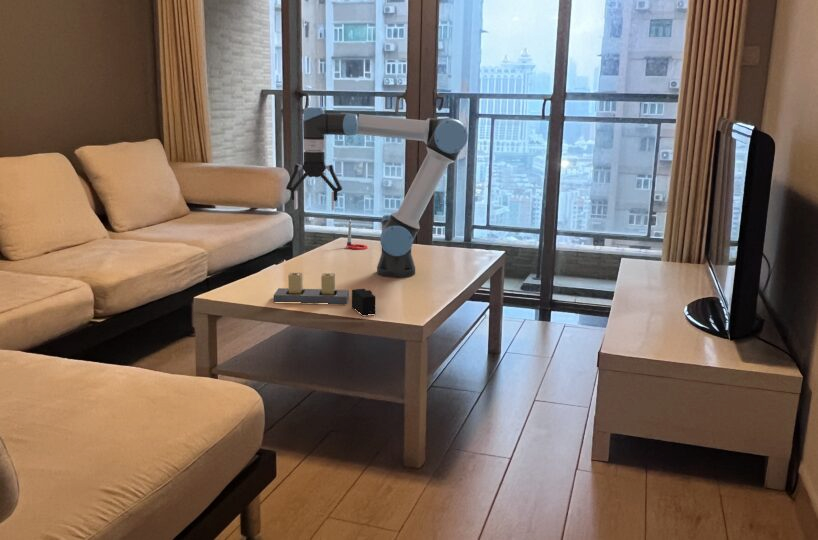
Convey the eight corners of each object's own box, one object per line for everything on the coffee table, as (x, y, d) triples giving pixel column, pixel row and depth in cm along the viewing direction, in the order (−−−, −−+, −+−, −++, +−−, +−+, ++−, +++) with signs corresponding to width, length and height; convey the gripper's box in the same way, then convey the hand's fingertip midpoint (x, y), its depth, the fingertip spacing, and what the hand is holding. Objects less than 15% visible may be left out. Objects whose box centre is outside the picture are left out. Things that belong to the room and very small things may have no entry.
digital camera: (379, 317, 243) (379, 295, 241) (363, 318, 241) (363, 297, 239) (367, 308, 252) (367, 287, 251) (351, 310, 250) (351, 289, 248)
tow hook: (368, 247, 351) (349, 245, 351) (370, 219, 347) (350, 218, 348) (365, 251, 342) (345, 249, 343) (367, 222, 339) (346, 221, 340)
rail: (348, 299, 262) (348, 289, 261) (346, 307, 253) (346, 296, 252) (278, 298, 262) (278, 288, 261) (273, 305, 253) (273, 295, 252)
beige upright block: (334, 299, 259) (334, 273, 257) (333, 302, 255) (333, 276, 253) (323, 299, 259) (322, 273, 257) (321, 302, 255) (321, 275, 253)
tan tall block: (302, 298, 259) (302, 272, 257) (300, 301, 255) (300, 275, 253) (290, 298, 259) (290, 272, 257) (288, 301, 255) (288, 275, 253)
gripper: (277, 151, 273) (278, 210, 278) (347, 152, 273) (347, 211, 278) (281, 149, 280) (282, 207, 285) (349, 150, 280) (349, 208, 285)
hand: (314, 209), depth 281 cm, fingers open, 13 cm apart
